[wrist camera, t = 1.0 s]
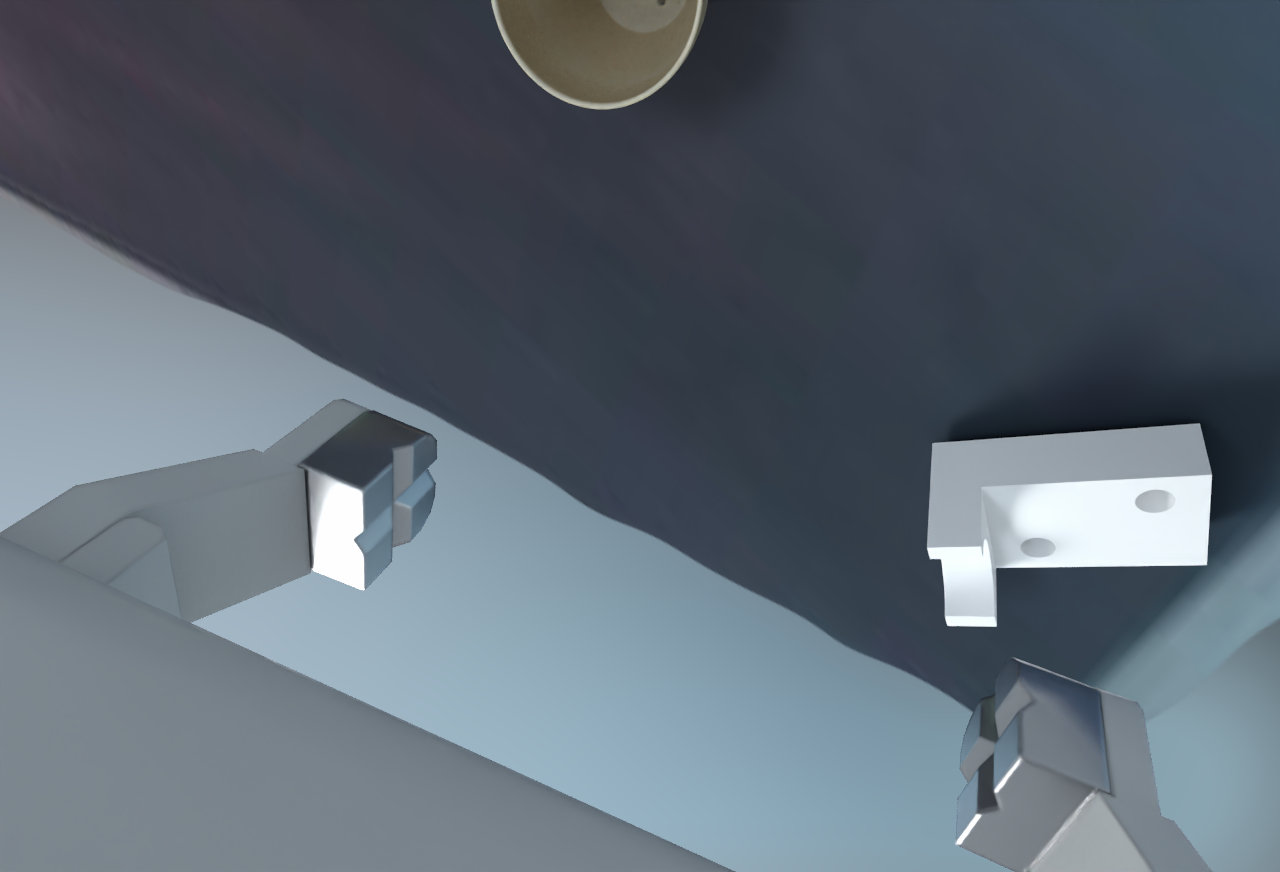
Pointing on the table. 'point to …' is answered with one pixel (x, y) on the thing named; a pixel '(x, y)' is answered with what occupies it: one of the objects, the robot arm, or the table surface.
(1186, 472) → the bracket
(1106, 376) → the table surface
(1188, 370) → the table surface
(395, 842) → the robot arm
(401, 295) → the table surface
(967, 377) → the table surface
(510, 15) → the flower pot
